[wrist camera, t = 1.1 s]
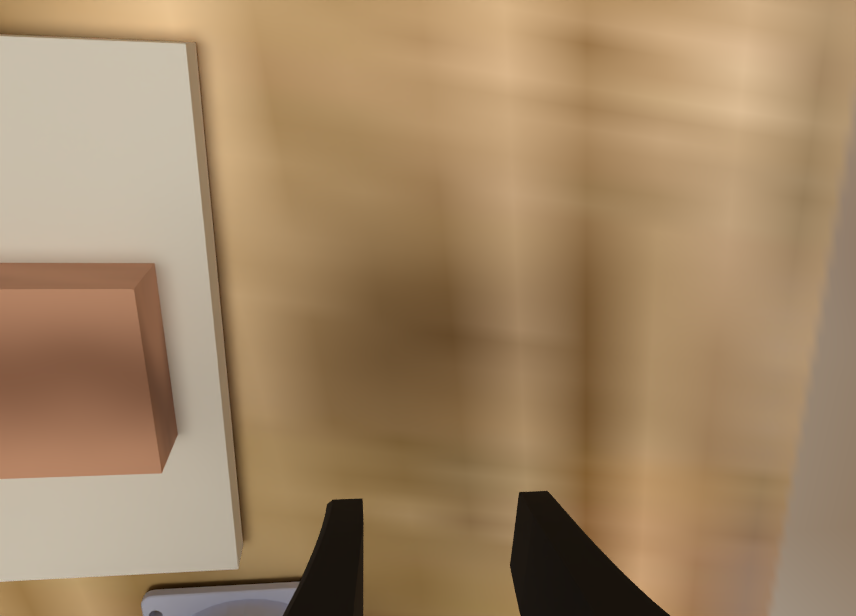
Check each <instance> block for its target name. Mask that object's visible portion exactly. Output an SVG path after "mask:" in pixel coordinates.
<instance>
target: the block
mask: <svg viewBox="0 0 856 616" xmlns="http://www.w3.org/2000/svg"><path fill="white" fill-rule="evenodd" d="M177 436H178V432H177V425H176V417H175V410H174V402H173V395H172V388H171V380H170V373H169V366H168V358H167V351H166V343H165V336H164V329H163V321H162V314H161V307H160V299H159V292H158V284H157V277H156V270H155V263H0V479H16V478H44V477H73V476H102V475H130V474H159V473H162V472H163V469H164V467H165V465H166V462H167V460H168V457H169V455H170V453H171V450H172V448H173V445H174V443H175V440H176V438H177Z"/></svg>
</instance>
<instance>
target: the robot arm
mask: <svg viewBox="0 0 856 616" xmlns="http://www.w3.org/2000/svg"><path fill="white" fill-rule="evenodd" d="M510 568H511V573H512V578H513V583H514V588H515V593H516V597H517V602H518V607H519V611H520V615H521V616H670V615H669V614H668V613H666V612H665V611H664V610H663V609H662V608H660V607H659V606H658V605H657V604H656V603H655V602H653V601H652V600H651V599H650V598H649V597H648V596H647V595H646V594H645V593H644V592H643V591H641V590H640V589H639V588H638V587H637V586H636V585H635V584H634V583H633V582H632V581H631V580H630V579H629V578H628V577H627V576H626V575H625V574H624V573H623V572H622V571H621V570H620V569H619V568H618V567H617V566H616V565H615V564H614V563H613V562H612V561H611V560H610V559H609V558H608V557H607V556H606V555H605V554H604V553H603V552H602V551H601V550H600V549H599V548H598V547H597V546H596V545H595V544H594V542H593V541H592V540H591V539H590V538H589V537H588V536H587V535H586V534H585V533H584V531H583V530H582V529H581V528H580V527H579V526H578V525H577V524H576V523H575V521H574V520H573V519H572V518H571V517H570V516H569V515H568V514H567V512H566V511H565V510H564V509H563V508H562V507H561V506H560V504H559V503H558V502H557V501H556V500H555V499H554V498H553V496H552V495H551V494H550V493H549V492H548V491H536V492H519V498H518V506H517V514H516V522H515V530H514V538H513V546H512V554H511V562H510ZM141 607H142V613H143V616H363V501H362V499H339V500H332V501H331V502H329V503H328V504H327V508H326V514H325V518H324V521H323V525H322V528H321V531H320V534H319V537H318V540H317V542H316V545H315V548H314V550H313V553H312V555H311V558H310V560H309V562H308V564H307V567H306V569H305V571H304V574H303V576H302V578H301V580H300V582H283V583H265V584H247V585H229V586H211V587H193V588H174V589H156V590H151V591H149V592H147V593H146V594H145V595H144V597H143V600H142V603H141ZM156 611H160V612H156Z"/></svg>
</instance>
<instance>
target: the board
mask: <svg viewBox="0 0 856 616" xmlns="http://www.w3.org/2000/svg"><path fill="white" fill-rule="evenodd" d="M0 263H155V270H156V277H157V284H158V292H159V299H160V307H161V314H162V321H163V329H164V336H165V343H166V351H167V358H168V366H169V373H170V380H171V388H172V395H173V402H174V410H175V417H176V425H177V432H178V436H177V438H176V440H175V443H174V445H173V448H172V450H171V453H170V455H169V457H168V460H167V462H166V465H165V467H164V469H163V472H162V473H159V474H130V475H102V476H73V477H44V478H16V479H0V582H2V581H21V580H40V579H59V578H79V577H98V576H117V575H136V574H155V573H174V572H193V571H212V570H231V569H239V564H240V559H241V554H242V549H243V537H242V527H241V516H240V506H239V495H238V484H237V474H236V463H235V453H234V442H233V432H232V421H231V410H230V400H229V389H228V379H227V368H226V358H225V347H224V336H223V326H222V315H221V305H220V294H219V283H218V273H217V262H216V252H215V241H214V231H213V220H212V209H211V199H210V188H209V178H208V167H207V157H206V146H205V135H204V125H203V114H202V104H201V93H200V82H199V72H198V61H197V51H196V42H176V41H152V40H128V39H104V38H80V37H56V36H32V35H8V34H0Z"/></svg>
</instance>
